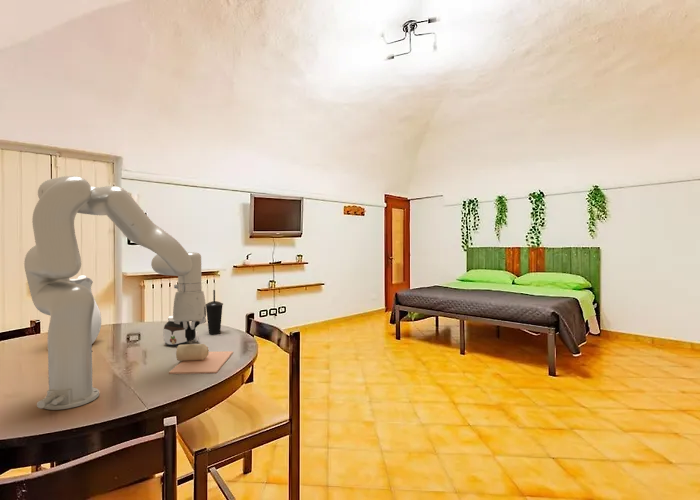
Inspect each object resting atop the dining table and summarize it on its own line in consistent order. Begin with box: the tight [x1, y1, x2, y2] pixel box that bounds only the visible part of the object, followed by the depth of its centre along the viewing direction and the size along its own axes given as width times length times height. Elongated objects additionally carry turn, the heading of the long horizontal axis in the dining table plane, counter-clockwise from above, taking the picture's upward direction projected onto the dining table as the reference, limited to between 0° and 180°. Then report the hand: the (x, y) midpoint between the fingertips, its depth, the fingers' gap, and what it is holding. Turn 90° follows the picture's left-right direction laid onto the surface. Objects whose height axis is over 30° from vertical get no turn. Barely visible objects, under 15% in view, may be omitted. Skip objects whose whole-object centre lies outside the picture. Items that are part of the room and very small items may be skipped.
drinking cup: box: [206, 289, 224, 336], centre depth 175 cm, size 8×8×20 cm
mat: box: [168, 350, 234, 375], centre depth 135 cm, size 22×15×1 cm
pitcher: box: [69, 274, 102, 344], centre depth 159 cm, size 24×17×28 cm
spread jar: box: [163, 314, 200, 348], centre depth 159 cm, size 12×11×12 cm
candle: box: [175, 343, 210, 362], centre depth 136 cm, size 6×6×10 cm
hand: (190, 339), depth 134 cm, fingers closed
